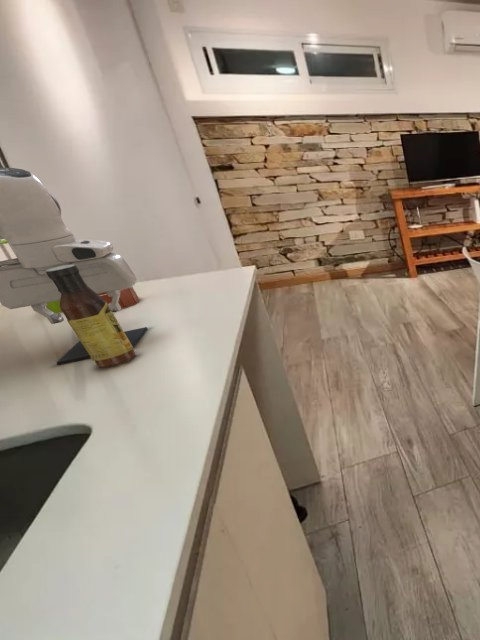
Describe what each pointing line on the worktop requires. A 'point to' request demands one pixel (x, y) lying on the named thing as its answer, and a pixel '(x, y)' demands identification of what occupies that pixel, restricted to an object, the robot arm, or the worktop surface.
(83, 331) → the sauce bottle
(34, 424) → the worktop surface
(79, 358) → the mat
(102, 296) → the pot
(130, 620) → the worktop surface
